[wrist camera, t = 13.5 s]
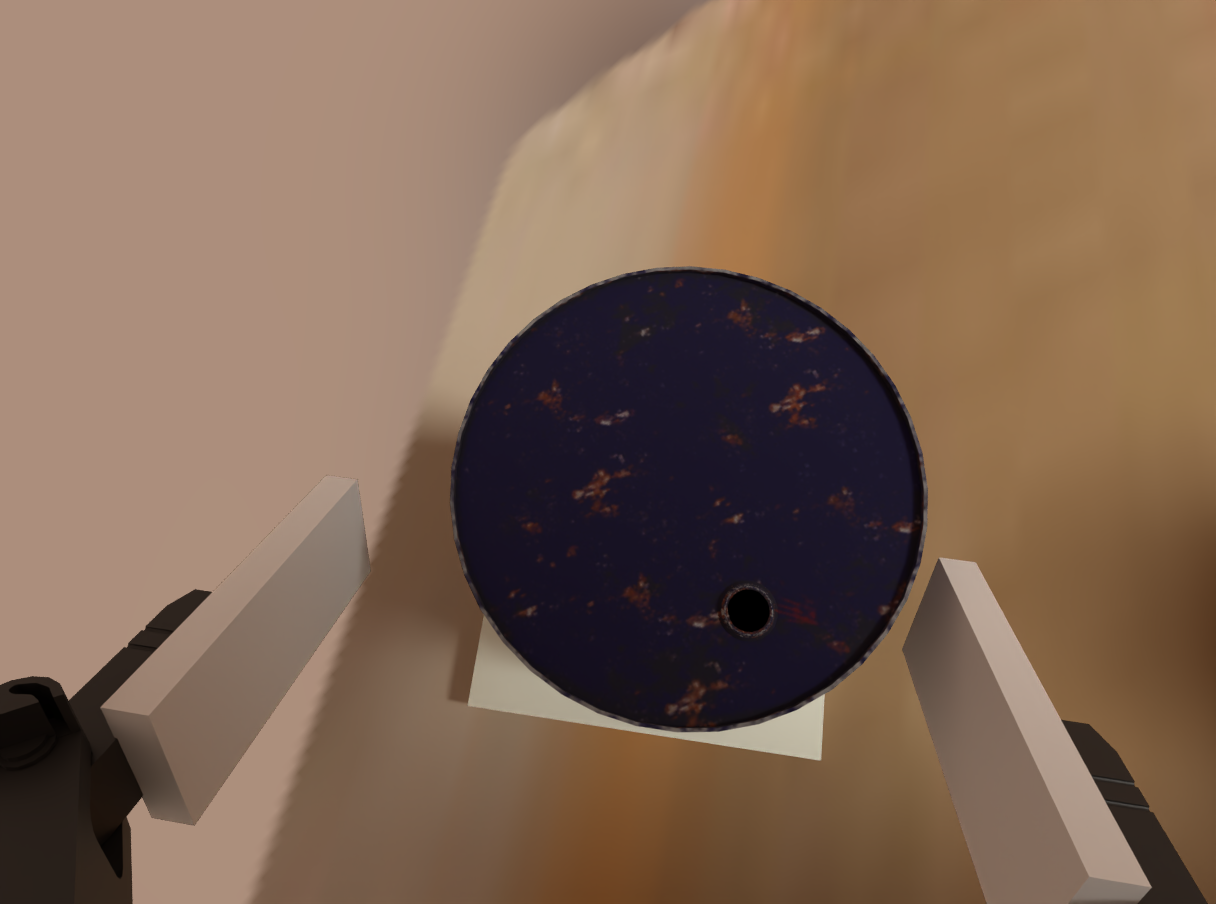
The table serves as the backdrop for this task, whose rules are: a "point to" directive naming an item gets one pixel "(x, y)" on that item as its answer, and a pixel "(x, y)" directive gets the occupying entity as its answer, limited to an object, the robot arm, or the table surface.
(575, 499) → the rusty oil drum
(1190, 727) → the table surface
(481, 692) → the placemat
